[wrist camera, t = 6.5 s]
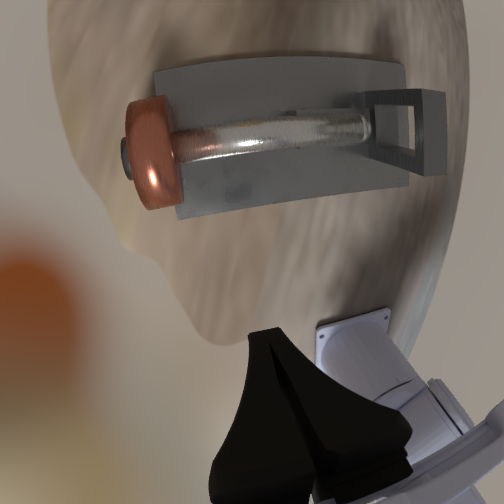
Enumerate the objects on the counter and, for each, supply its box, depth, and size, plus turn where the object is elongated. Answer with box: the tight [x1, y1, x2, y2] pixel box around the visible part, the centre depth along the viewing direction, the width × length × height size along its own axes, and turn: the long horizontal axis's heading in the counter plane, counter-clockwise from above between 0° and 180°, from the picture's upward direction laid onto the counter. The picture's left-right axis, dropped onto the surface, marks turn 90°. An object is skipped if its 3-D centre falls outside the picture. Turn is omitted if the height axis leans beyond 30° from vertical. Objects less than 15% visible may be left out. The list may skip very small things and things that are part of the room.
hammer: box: [121, 94, 372, 210], centre depth 15 cm, size 6×14×6 cm, turn 97°
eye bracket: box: [153, 56, 447, 220], centre depth 16 cm, size 10×18×7 cm, turn 97°
